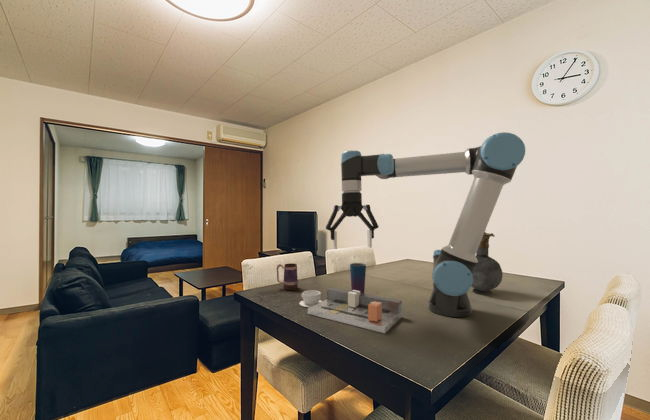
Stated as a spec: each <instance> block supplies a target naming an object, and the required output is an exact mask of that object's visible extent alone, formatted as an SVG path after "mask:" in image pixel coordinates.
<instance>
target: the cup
mask: <svg viewBox="0 0 650 420" xmlns="http://www.w3.org/2000/svg"><path fill="white" fill-rule="evenodd" d="M349 267H350V268H349V271H350V287H351V288H350V289H351V290H350V291H352V290H357V291H360V293H363V294H365V290H366V289H365V286H366V270H367V264H366V263H364V262H363V263H362V262H352V263H349Z"/></svg>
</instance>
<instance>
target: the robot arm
mask: <svg viewBox="0 0 650 420" xmlns="http://www.w3.org/2000/svg"><path fill="white" fill-rule="evenodd" d="M525 155H526V146H525V143H524V141H523V140H522V139H521V137H520V136H518V135H516V134H514V133H513V132H512V133H511V132H504V131H503V132H502V131H501V132H497V133H495V134H492V135H491V136H489V137H488V138H486V139H485V140H484V142H483V143H482V144H481V145H480V146H476V147H470V148H466V149H465V151H459V152H458V151H457V152H450V153H448V152H447V153H439V154H430V155H429V154H428V155H419V156H417V155H416V156H408V157H397V158H394V156H393V154H391V153H380V154H371V155H370V154H369V155H362V152H361V151H359V150H346V151H343V152H342V154H341V158H340V159H341V160H340V161H341V162H340V168H341V169H340V170H341V192H342V193H341V205H338V204H334V205H333V211H332V213H331V215H330V218H329V220H328V222H327V224H326V226H325V230H328V231H330V240H331V241H333V249H334V250H337V249H338V241H337V240H338V236H337V235H338V232H337V231H336V229H337V228H338V227H339V226H340V224H341V223H342V222H343V220H344V219H345V218H346V217H349V218H350V217H358V218H360V220H361V221H362V222H363V223H364V225H366V227H367V231H366V232H367V247H368V248H373V243H372V241H373V239H374V238H375V230H377V229H379V228H380V227H379V224H378V222H377V220H376V218H375V216H374V213H373V212H372V210H371V205H370V204H365V205H364V204H363V200H362V199H363V198H362V197H363V196H362V195H363V194H362V192H361V191H363V190H362V177H367V176H371V177H372V176H374V177H375V176H376V177H377V178H379V179H380V180H387V179H390V178H392V179H395V178H403V177H405V178H406V177H417V176H432V175H443V174H444V175H445V174H454V173H455V174H459V173H460V174H461V173H465V174H467V175H471V176H472V175H473V177H474V178H473V181H472V184H471V186H470V188H469V191H468V194H467V195H466V199H465V202H464V204H463V206H462V209H461V212H460V214H459V217H458V219H457V222H456V224H455V227H454V229H453V233H452V235H451V237H450V239H449V243H448V244H447V245H445V246H443V247H442V248H441V249H435V250H434V251H433V255H432V259H433V263H432V265H433V271H432V276H431V277H432V281H433V283H432V285H433V286H432V287H433V288H432V291H431V293H430V296H429V299H428V309H429V311H431V312H433V313H435V314H437V315H441V316H446V317H452V318H465V317H469V316H471V315H472V310H473V309H472V305H471V301H470V299H469V294H468V292H469V290H471V286H472V283H473V282H472V281H473V273H474V271H475V268H476V266H477V263H478V260H477V258H476V252H477V249H478V247H479V244H480V242H481V239H482V237H483V234H484V232H486V230H487V227H488V224H489V222H490V219H491V217H492V214H493V211H494V210H495V208H496V207H495V206H496V205H497V203H498V202H497V201H498V199H499V197H500V194H501V192H502V189H503V187H504V186H505V185H506V184H509V183H511V182H512V179H513V177H514V175H515V172H516V170H517V167H518V166H519V165H520V164H521V163H522V162H523V160H524V159H525ZM340 210H341V211H342V213H341V214H340V216H339V217H338V219H337V220H336V219H335V218H336V217H337V214H338V212H339V211H340ZM363 210H364V211H365V213H366V215H367V217H368V219H369V220H368V219H367V218H366V216H365V215H364V213H362V211H363ZM334 220H336V221H335V222H334ZM333 223H334V224H333Z"/></svg>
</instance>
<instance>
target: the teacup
mask: <svg viewBox="0 0 650 420" xmlns="http://www.w3.org/2000/svg"><path fill="white" fill-rule="evenodd" d="M321 294H322V293H321V291H319V290H314V289H313V290H311V289H310V290H304V291H303V292H302V293H301V298H302V299H303V300H301V301H299V305H300V306H301V307H305V308H310V307H312V306H314V305H316V304H318V303H320V302H322V301H323V300H321Z"/></svg>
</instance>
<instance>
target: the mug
mask: <svg viewBox="0 0 650 420" xmlns="http://www.w3.org/2000/svg"><path fill="white" fill-rule="evenodd" d="M280 267H281V268H282V269H283V281H281V280H280V277H279V275H280V274H279V268H280ZM276 281H277V282H278V283H280V284H283V287H282V288H283V289H284V290H285V291H296V290H297V289H298V288H299V286H298V284H299V280H298V264H297V263H285V264H284V266H283V264H280V263H279V264H277V265H276Z"/></svg>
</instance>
